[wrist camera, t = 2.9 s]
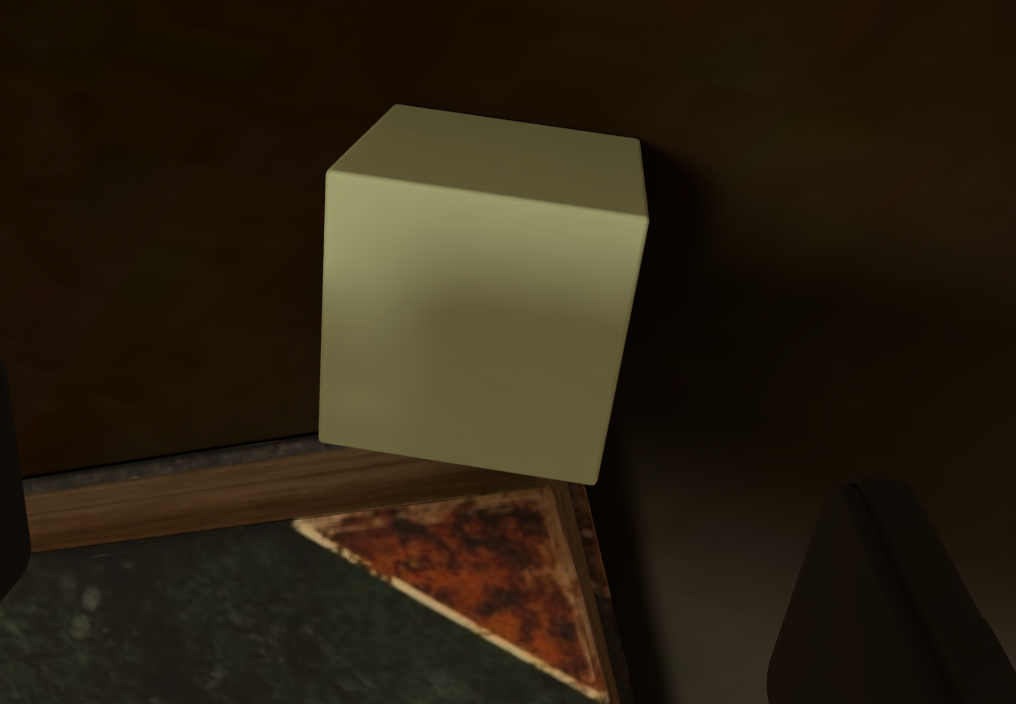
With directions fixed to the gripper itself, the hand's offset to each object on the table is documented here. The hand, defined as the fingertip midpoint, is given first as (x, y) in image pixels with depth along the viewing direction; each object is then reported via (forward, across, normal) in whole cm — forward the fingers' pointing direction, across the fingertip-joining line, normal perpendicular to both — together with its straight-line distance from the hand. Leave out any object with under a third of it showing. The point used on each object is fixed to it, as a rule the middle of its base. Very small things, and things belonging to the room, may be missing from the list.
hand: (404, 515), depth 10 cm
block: (+9, 0, 0) cm, 9 cm away
